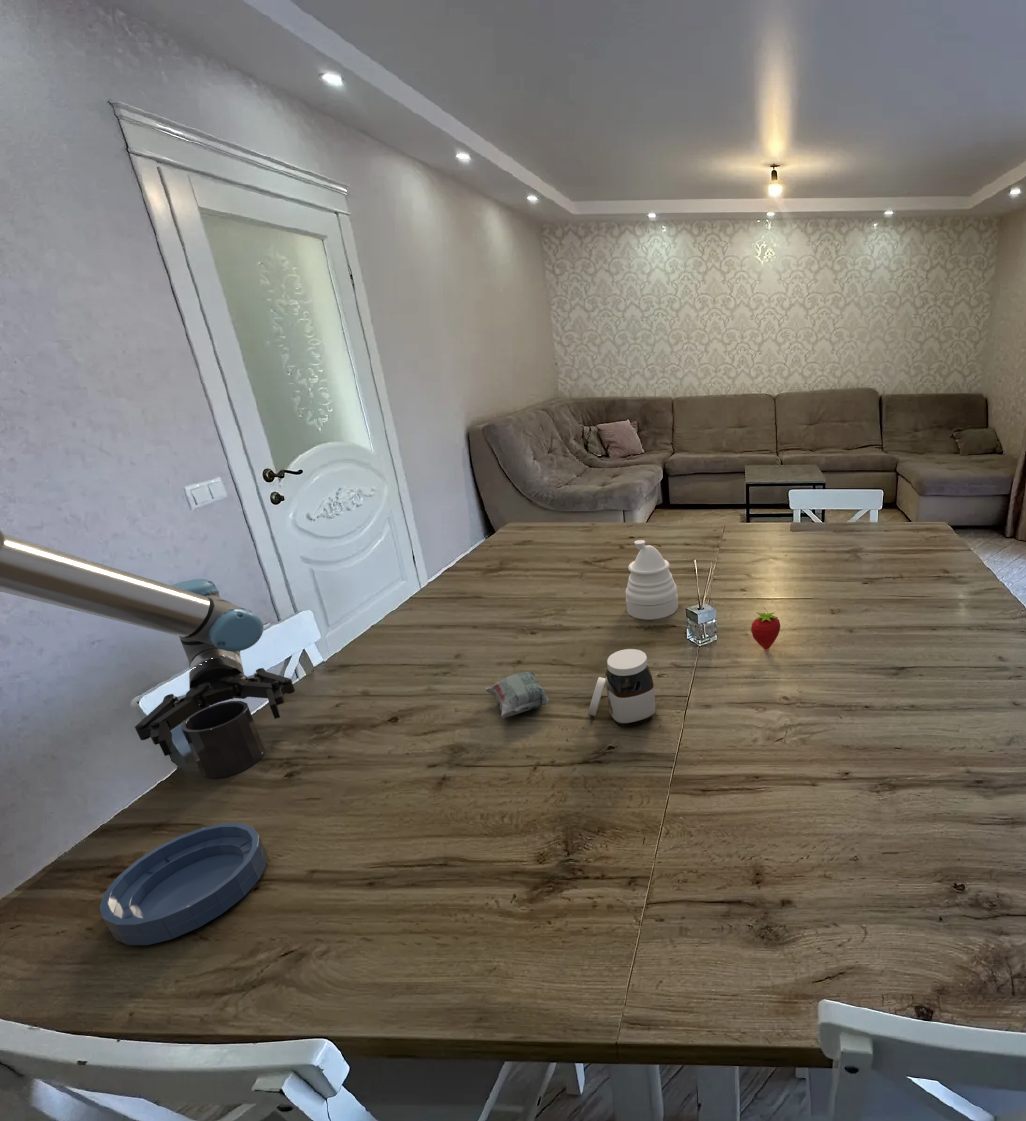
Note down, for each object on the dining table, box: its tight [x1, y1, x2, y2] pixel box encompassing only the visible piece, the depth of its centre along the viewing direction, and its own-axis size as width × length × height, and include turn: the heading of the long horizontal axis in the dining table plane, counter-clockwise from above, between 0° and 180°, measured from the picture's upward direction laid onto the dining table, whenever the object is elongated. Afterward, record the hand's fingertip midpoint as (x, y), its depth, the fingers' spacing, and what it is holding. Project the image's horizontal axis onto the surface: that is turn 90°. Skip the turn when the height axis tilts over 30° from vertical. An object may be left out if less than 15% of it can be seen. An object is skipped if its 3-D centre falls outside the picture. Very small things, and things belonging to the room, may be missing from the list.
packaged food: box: [485, 670, 550, 720], centre depth 108 cm, size 9×12×5 cm
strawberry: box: [750, 608, 782, 651], centre depth 126 cm, size 6×8×10 cm
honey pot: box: [624, 539, 679, 620], centre depth 144 cm, size 13×13×18 cm
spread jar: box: [587, 648, 656, 727], centre depth 104 cm, size 12×11×12 cm
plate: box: [99, 822, 268, 946], centre depth 72 cm, size 14×14×4 cm
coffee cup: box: [180, 700, 266, 780], centre depth 94 cm, size 8×8×9 cm
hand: (222, 729), depth 94 cm, fingers open, 13 cm apart
